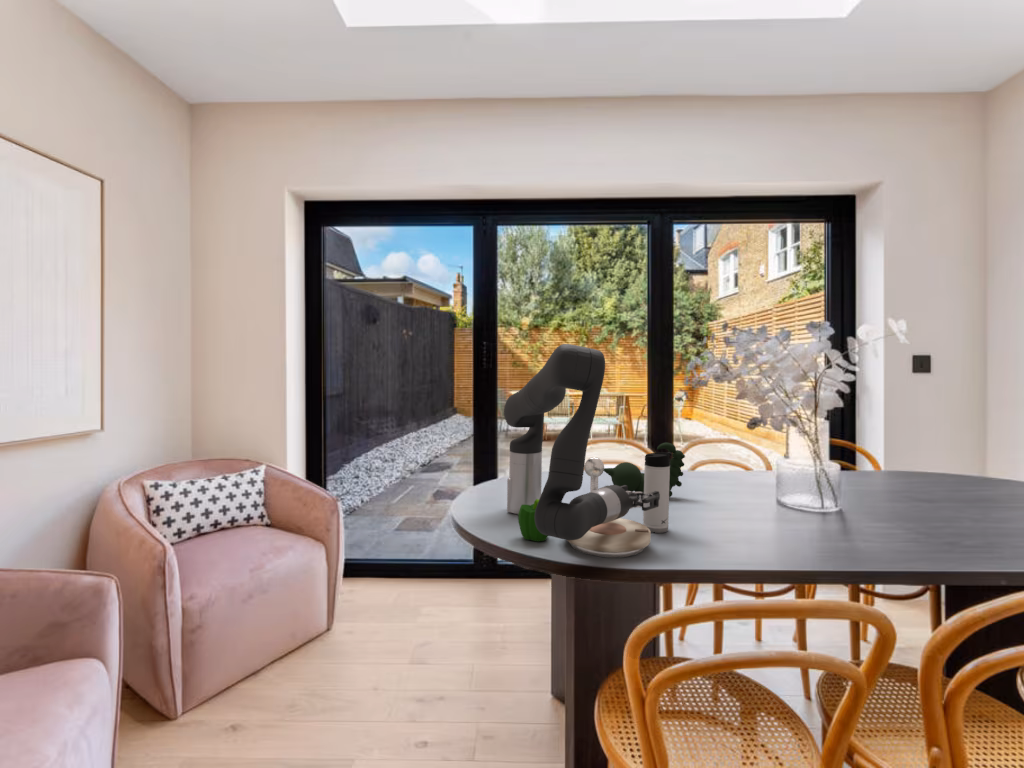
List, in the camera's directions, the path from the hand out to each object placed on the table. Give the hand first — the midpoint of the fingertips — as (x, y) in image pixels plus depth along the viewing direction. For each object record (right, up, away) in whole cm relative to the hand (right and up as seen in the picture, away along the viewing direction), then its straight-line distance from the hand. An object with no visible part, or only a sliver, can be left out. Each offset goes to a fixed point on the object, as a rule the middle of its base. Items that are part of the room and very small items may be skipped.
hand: (641, 492), depth 132 cm
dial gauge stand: (-11, -10, +9) cm, 17 cm away
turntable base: (-10, -11, -6) cm, 16 cm away
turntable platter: (-10, -9, -6) cm, 15 cm away
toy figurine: (+10, -10, +40) cm, 42 cm away
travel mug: (+5, -11, +6) cm, 14 cm away
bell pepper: (-26, -11, -2) cm, 29 cm away
